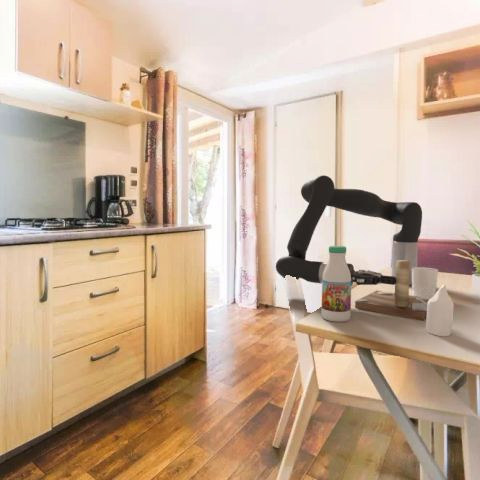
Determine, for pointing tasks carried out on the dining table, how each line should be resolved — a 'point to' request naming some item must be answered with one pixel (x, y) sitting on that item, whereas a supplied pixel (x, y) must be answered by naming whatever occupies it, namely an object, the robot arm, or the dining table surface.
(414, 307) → the corner bracket
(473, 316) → the dining table surface
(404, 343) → the dining table surface
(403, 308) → the stool seat
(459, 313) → the dining table surface
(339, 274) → the milk bottle
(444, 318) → the white pointed cylinder
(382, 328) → the dining table surface
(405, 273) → the hinged leg
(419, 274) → the white cup
